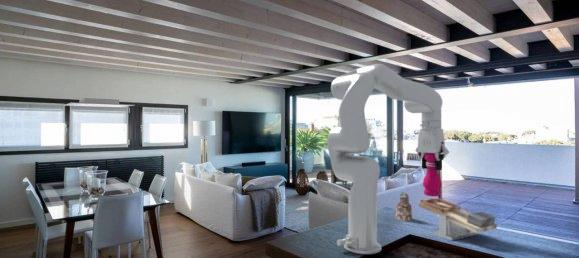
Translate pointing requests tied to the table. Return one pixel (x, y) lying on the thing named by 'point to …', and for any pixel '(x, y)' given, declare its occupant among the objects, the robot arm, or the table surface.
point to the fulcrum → (452, 229)
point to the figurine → (404, 208)
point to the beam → (459, 215)
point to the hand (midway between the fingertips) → (431, 168)
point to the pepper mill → (431, 177)
